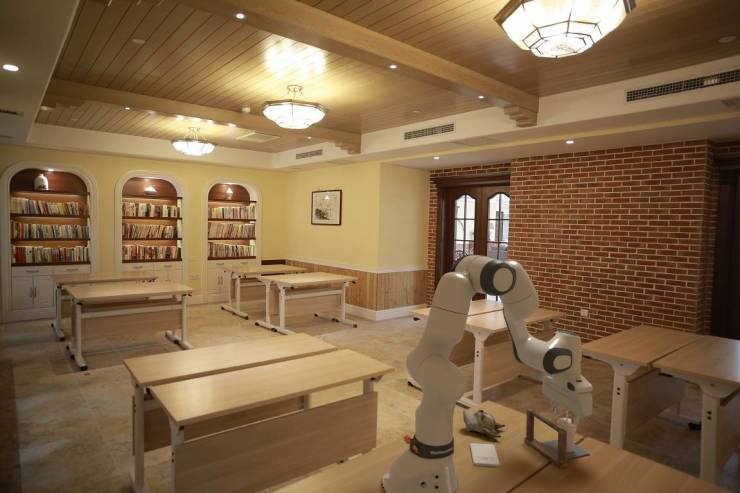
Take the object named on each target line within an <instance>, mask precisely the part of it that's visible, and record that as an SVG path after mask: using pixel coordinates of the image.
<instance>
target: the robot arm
mask: <svg viewBox="0 0 740 493" xmlns="http://www.w3.org/2000/svg"><path fill="white" fill-rule="evenodd" d="M477 293H478V294H479V293H480V294H483V295H488V296H491V297H499V300H500V302H501V303H502V315H503V320H504V322H505V324H506V325H505V326H506V328H507V331H508V334H509V336H510V340H511V343H512V352H513V356H514V358H515V360H516V361H517V362H518V363H519V364H521V365H525V366H528V367H530V368H533V369H535V370H537V371H540V372H543V373H544V377H543V381H542V386H541V391H542V395H543V396H545V397H546V398H548V399H549V404H550V405H551V406H550V407H551V412H552V413H554V414H558V413H559V412H560V411H559V410H560V408H559V406H558V404H559V405H561V406H562V407H564V408H566V410H568V411H570V412H572V413H573V416H574V417H571V418H570V419H571V423H572V424H574V425H577V426H578V425H579V424H580V420H581V418H585V417H590V416H591V415H592V414H593V408H594V407H593V401H594V400H593V395H592V392H593V390H594V388H593V385H592V384H591V383H590V382H589V381H588V380H587V378H585V377H584V375H582V369H581V368H582V367H581V362H582V356H583V355H582V354H583V348H582V345H583V344H582V339H581V337H580V335H579V334H577V333H575V332H572V331H568V330H563V329H560V330H556V331H555V335H554V336H553V337H552V338H551V339H549V340H548V341H544V340H541V339H539V338H536V337H534V336H533V335H532V334H530V332H529V330H528V327H527V325H526V319H529V318H530V317H532V316H533V315H534V314H535V313H536V312H537V311H538V308H539V306H540V298H539V295H538V292H537V290H536V288H535V285H534V282H532V280H531V277H530V276H529V274H528V273H527V271H526V270H525V268H524V267H523V265H521V263H520V262H518V261H516V260H511V259H510V260H504V261H503V260H501V259H496V258H492V257H489V256H486V255H478V254H472V253H471V254H465V255H461V256H460V257H458V258H457V259H456V261H455V262H454V263H453V265H452V268H451V269H450V271H449V272H446V273H444V274H443V275H442V276H441V277H440V279H439V282H438V283H437V286H436V289H435V291H434V293H433V294H434V295H433V297H432V300H431V301H432V302H431V306H430V309H429V313H428V317H427V320H426V324H425V328H424V331H423V333H422V335H421V338H420V340H419V341H418V343H417V345H416V347H415V348H414V349H412V350H411V351H410V352H409V353H408V355H407V358H406V361H405V365H406V366H405V367H406V369H407V371H408V374H409V376H410V377H411V379H412V380H413V381H414V382H415V383H416V384H418V385H419V386H420V388H421V391H422V398H421V402H420V404H419V405H418V406H417V407H416V409H415V413H414V414H415V418H414V419H415V421H414V422H415V423H414V424H415V426H414V427H415V428H414V431H415V432H414V434H413V437H411V436H410V435H409V434H405V435H404V436H403V441H404V442H405V444H406V445H409V447H408V448H407V449H406V450H404V451H403V452H402V453H401V454H399V455H398V456H396V458H394V459H393V460H392V462H391V464H390V468H389V469H390V470H389V472H387V473H385V474H383V476H382V479H381V485H382V484H383V486H382V488H383V487H384V488H383V490H384V489H385V490H384V492H385V491H386V492H385V493H454V492H455V491H456V490H457V489H458V486H459V482H458V480H457V476H456V471H455V462H454V454H455V437H454V435H453V434H454V433H453V432H454V426H453V425H454V412H455V408H456V405H457V402H458V401H460V400H461V399H462V398H463V397H464V395H465V393H466V391H467V387H468V386H467V383H468V382H467V379H466V376H465V375H464V373H463V372H462V371H461V369H460V368H459V367H458V365H456V364H455V363H453V362H452V361H451V360H449V357H450V354H451V352H452V350H453V349H454V347H455V346H456V345H457V344H460V342H461V341H462V340H463V338H464V334H465V329H466V324H467V320H468V316H469V312H470V307H471V301H472V300H473V297H474V296H475V295H476V294H477ZM385 480H386V481H385Z"/></svg>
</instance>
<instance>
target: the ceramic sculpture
mask: <svg viewBox="0 0 740 493" xmlns="http://www.w3.org/2000/svg"><path fill="white" fill-rule="evenodd" d="M462 413H463V423H464V424H465V428H466V431H467V432H471V431H475V432H477V433H480V434H483V435H486V436H487V437H488V438H491V439H496V438H497V439H499V438H502V435H500V434H499V433H498V431H497V430H498V429H502V428H504V427H506V424H501V423H499V422H497V421H496V420H495V418H494V416H493V415H492V414H491V413H487V412H485V411H484V410H483V409H479V410H476V411H475V412H471V411H470V410H466V409H463V410H462Z"/></svg>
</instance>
